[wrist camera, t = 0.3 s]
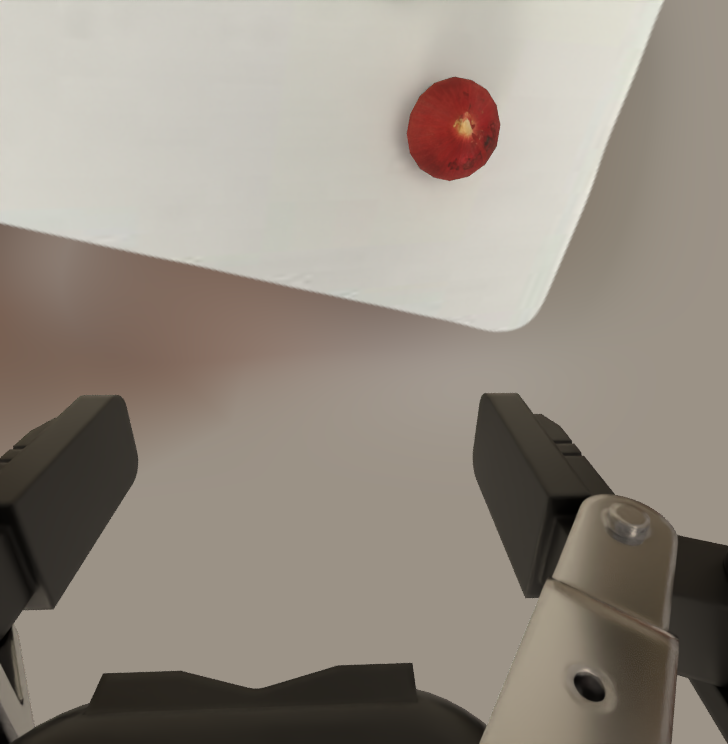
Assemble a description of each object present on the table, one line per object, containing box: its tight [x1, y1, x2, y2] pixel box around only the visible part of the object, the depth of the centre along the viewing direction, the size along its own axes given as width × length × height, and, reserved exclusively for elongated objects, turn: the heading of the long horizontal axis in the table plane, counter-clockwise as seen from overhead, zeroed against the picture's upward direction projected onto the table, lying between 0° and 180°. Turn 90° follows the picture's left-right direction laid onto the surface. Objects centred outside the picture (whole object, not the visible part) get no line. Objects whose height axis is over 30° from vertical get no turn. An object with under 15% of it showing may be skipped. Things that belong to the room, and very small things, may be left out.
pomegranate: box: [407, 77, 500, 181], centre depth 30 cm, size 6×6×8 cm
